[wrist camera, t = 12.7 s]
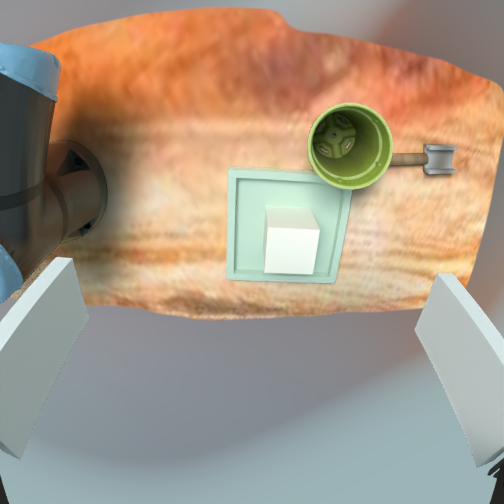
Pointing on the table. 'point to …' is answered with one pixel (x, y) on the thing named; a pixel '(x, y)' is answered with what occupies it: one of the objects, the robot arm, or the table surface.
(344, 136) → the plant pot
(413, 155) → the scoop
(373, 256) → the table surface
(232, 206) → the tray
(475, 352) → the robot arm
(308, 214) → the block
